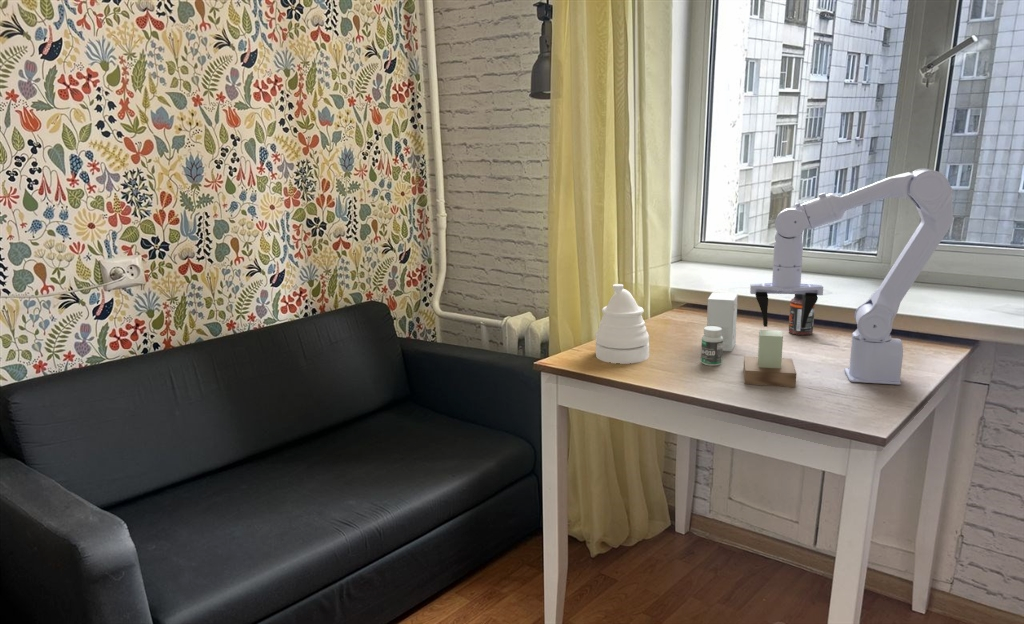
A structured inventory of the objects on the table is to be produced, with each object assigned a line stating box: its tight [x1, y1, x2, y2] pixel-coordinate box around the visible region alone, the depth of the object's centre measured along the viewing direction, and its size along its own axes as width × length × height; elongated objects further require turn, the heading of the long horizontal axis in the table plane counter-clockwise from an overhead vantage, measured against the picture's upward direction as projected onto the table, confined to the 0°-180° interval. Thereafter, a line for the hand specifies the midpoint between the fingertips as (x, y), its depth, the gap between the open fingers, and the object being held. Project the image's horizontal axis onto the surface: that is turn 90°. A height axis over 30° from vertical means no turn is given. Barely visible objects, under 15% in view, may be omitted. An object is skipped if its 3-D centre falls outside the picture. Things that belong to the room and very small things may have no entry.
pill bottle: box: [700, 325, 724, 367], centre depth 155 cm, size 5×5×8 cm
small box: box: [706, 291, 739, 352], centre depth 167 cm, size 8×6×13 cm
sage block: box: [757, 329, 784, 368], centre depth 143 cm, size 4×4×7 cm
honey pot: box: [595, 283, 650, 365], centre depth 162 cm, size 13×13×18 cm
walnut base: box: [743, 355, 797, 388], centre depth 145 cm, size 10×10×3 cm
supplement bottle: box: [788, 294, 816, 336], centre depth 176 cm, size 6×6×11 cm
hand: (783, 326), depth 147 cm, fingers open, 7 cm apart
